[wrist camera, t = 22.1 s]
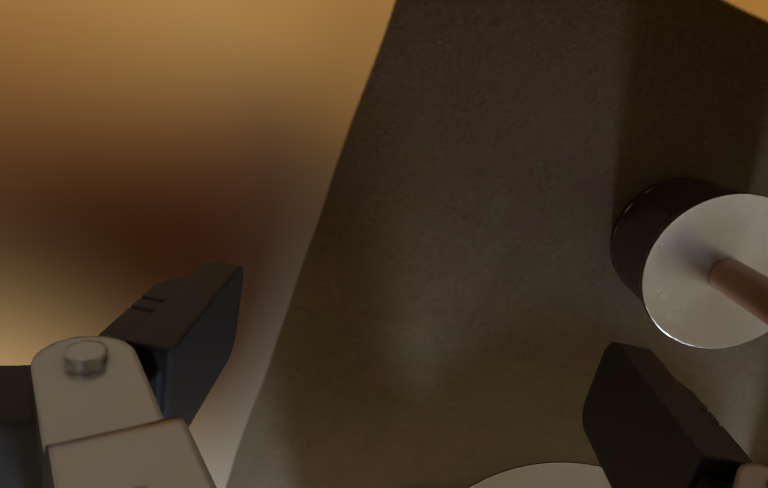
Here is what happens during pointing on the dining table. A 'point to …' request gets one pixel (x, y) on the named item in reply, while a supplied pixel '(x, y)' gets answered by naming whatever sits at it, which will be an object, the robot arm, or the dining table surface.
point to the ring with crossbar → (549, 477)
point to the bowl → (652, 222)
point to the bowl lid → (710, 272)
